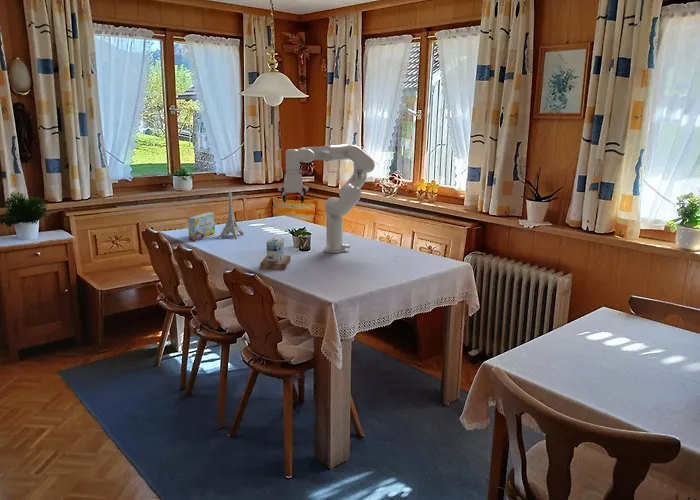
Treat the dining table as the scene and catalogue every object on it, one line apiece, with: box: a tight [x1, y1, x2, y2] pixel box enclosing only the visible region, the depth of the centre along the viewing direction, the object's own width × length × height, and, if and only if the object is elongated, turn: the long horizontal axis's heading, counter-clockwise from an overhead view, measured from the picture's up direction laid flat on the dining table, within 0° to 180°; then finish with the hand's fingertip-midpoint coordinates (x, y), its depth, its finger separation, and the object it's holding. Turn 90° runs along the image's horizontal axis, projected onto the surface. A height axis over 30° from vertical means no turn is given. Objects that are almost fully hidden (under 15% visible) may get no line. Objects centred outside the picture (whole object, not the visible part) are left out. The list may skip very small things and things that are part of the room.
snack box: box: [187, 211, 216, 242], centre depth 356 cm, size 21×6×15 cm, turn 159°
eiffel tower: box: [218, 190, 245, 240], centre depth 359 cm, size 13×13×30 cm
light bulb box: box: [266, 237, 285, 262], centre depth 297 cm, size 11×7×11 cm, turn 171°
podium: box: [259, 254, 291, 270], centre depth 298 cm, size 13×17×3 cm
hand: (293, 202), depth 311 cm, fingers open, 9 cm apart
